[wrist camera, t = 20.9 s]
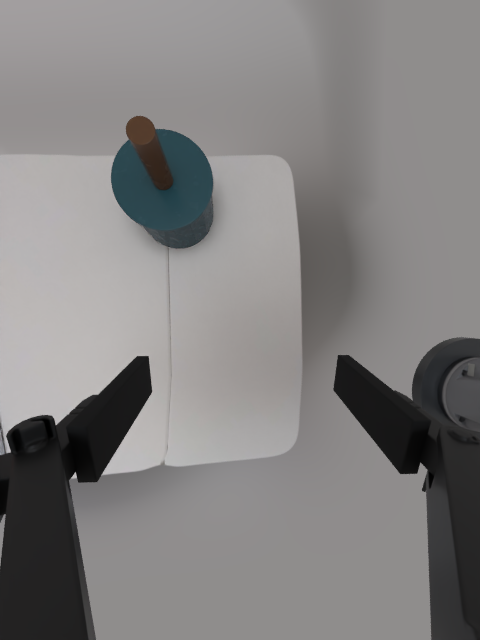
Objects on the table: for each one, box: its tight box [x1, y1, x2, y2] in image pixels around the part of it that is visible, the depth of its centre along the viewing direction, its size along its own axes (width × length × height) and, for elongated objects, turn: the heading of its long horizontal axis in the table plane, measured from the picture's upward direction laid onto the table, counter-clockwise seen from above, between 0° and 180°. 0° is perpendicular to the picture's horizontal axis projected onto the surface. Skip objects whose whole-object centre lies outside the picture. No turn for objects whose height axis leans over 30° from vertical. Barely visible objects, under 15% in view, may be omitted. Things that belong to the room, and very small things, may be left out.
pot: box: [143, 196, 213, 248], centre depth 35 cm, size 12×12×10 cm
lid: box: [111, 116, 213, 231], centre depth 26 cm, size 13×13×9 cm
